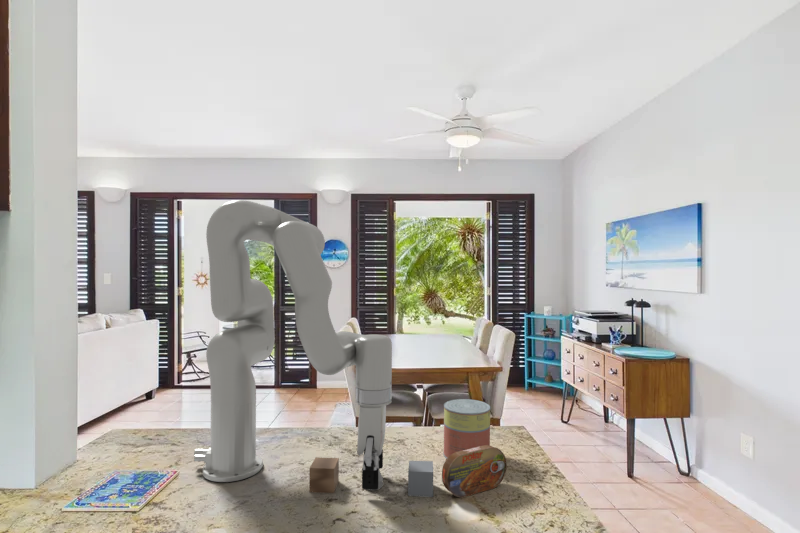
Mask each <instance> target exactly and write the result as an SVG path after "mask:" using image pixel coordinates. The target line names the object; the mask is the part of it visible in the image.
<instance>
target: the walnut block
mask: <svg viewBox="0 0 800 533" xmlns="http://www.w3.org/2000/svg"><path fill="white" fill-rule="evenodd" d="M339 462H340V459H339V457H317V456H316V457H315V458H314V459H313V461H312V463H311V465H310V466H309V488H308V489H309V490H308V492H309V493H316V494H317V493H321V494H323V493H324V494H335V490H336V489H337V486H338V484H339V481H340V480H339V478H340V477H339V476H340V475H339V473H340V469H339V468H340V465H339V464H340V463H339Z"/></svg>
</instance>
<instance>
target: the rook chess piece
mask: <svg viewBox="0 0 800 533" xmlns="http://www.w3.org/2000/svg"><path fill="white" fill-rule="evenodd" d="M372 453H376V451H372ZM374 459H375V457H372V460H374ZM379 460H380V459H379V456H378V461H377V468H379ZM383 481H384V477H383V475H382V473H381V471H380V469H378V489H377V490H376V491H378V490H380V489H381V488H382V487H383V485H384V482H383ZM366 490H367V491H372V490H371V489H366Z"/></svg>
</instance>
